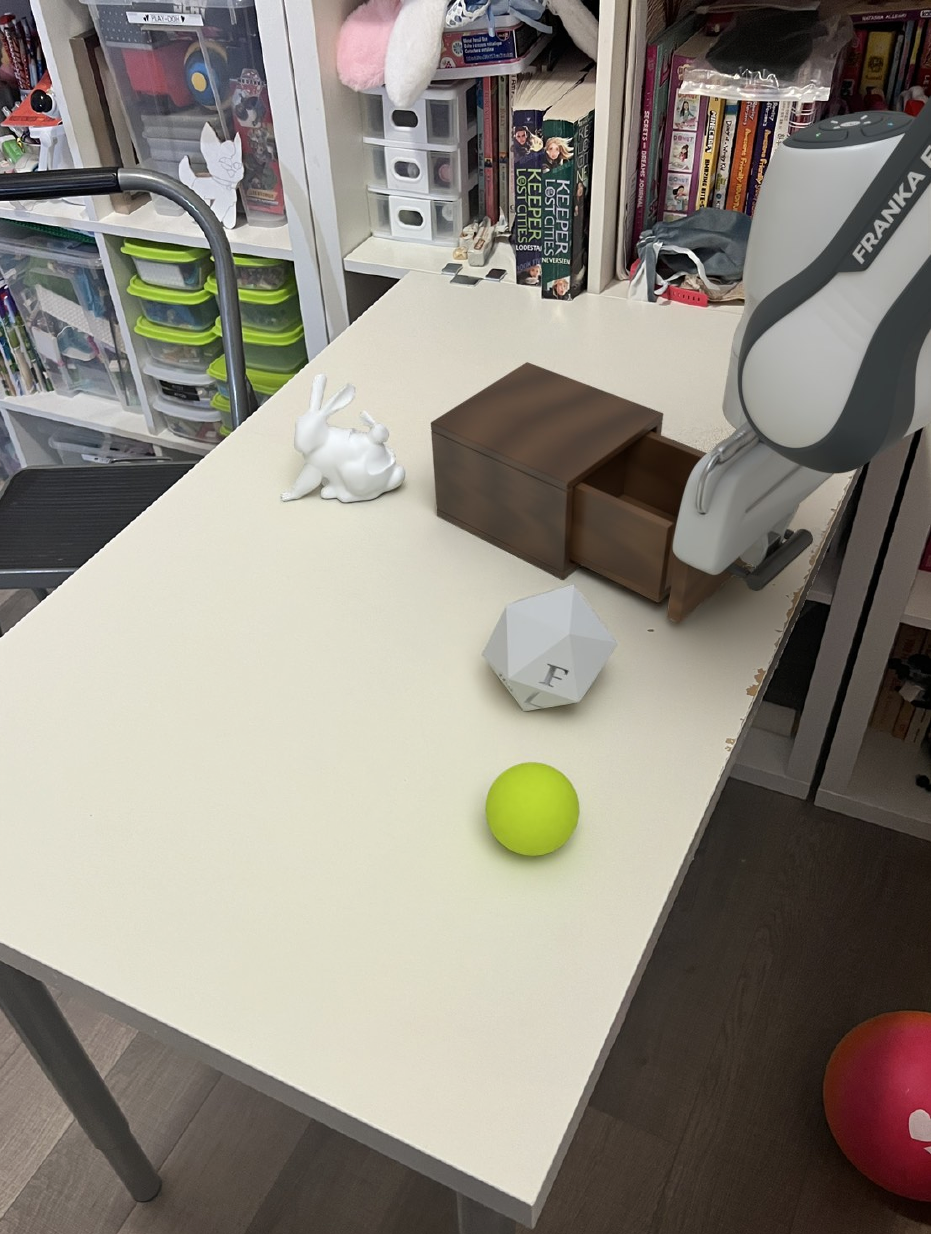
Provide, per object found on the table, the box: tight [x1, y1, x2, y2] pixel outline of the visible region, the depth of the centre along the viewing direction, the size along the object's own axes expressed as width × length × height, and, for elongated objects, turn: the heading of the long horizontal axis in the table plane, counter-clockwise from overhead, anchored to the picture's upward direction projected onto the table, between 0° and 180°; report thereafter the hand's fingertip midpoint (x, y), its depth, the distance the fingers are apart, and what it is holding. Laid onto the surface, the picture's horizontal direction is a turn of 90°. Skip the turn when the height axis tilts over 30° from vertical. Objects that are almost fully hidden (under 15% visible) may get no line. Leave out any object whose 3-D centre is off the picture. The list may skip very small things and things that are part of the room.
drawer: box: [570, 431, 814, 624], centre depth 82 cm, size 18×11×8 cm, turn 45°
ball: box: [485, 761, 580, 857], centre depth 66 cm, size 6×6×6 cm
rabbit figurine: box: [279, 373, 406, 503], centre depth 95 cm, size 12×8×10 cm, turn 78°
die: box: [481, 584, 619, 712], centre depth 75 cm, size 8×9×10 cm
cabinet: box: [430, 361, 664, 581], centre depth 89 cm, size 15×13×10 cm
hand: (759, 555), depth 78 cm, fingers closed
